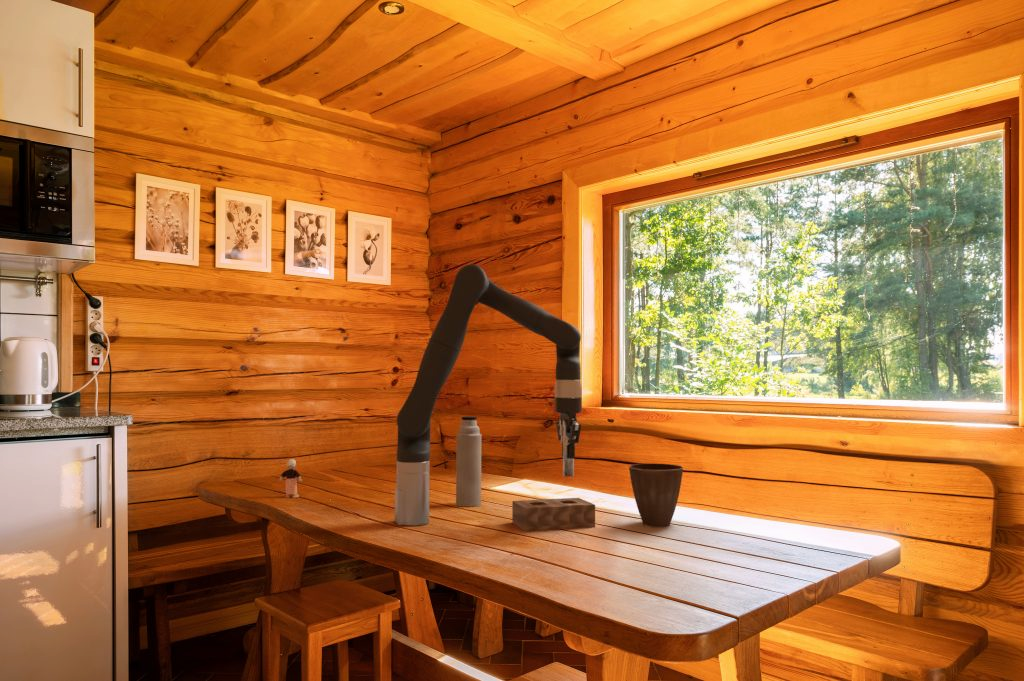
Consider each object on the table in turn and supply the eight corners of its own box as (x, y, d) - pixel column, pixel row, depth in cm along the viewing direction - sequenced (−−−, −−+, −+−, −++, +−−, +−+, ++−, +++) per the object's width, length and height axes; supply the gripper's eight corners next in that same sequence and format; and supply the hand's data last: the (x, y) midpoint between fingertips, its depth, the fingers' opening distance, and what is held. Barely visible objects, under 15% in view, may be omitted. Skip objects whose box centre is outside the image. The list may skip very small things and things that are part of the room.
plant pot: (659, 531, 200) (659, 471, 200) (617, 523, 211) (617, 465, 212) (694, 524, 209) (694, 467, 210) (652, 516, 221) (652, 462, 221)
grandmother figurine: (303, 495, 255) (303, 458, 256) (300, 497, 251) (301, 459, 252) (280, 496, 255) (280, 458, 255) (277, 497, 251) (278, 459, 252)
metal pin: (565, 476, 209) (565, 426, 209) (561, 475, 212) (561, 425, 212) (575, 476, 210) (575, 425, 210) (571, 474, 212) (571, 425, 213)
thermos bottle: (458, 502, 244) (459, 415, 245) (482, 502, 243) (483, 416, 244) (454, 506, 236) (454, 417, 237) (479, 507, 235) (479, 417, 236)
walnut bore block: (525, 531, 200) (525, 507, 200) (512, 522, 211) (512, 500, 212) (595, 526, 206) (595, 504, 206) (578, 518, 217) (578, 497, 218)
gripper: (547, 395, 217) (547, 455, 216) (564, 396, 204) (564, 461, 203) (571, 395, 219) (571, 454, 219) (590, 396, 206) (590, 460, 205)
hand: (568, 457), depth 211 cm, fingers closed on metal pin, 3 cm apart
